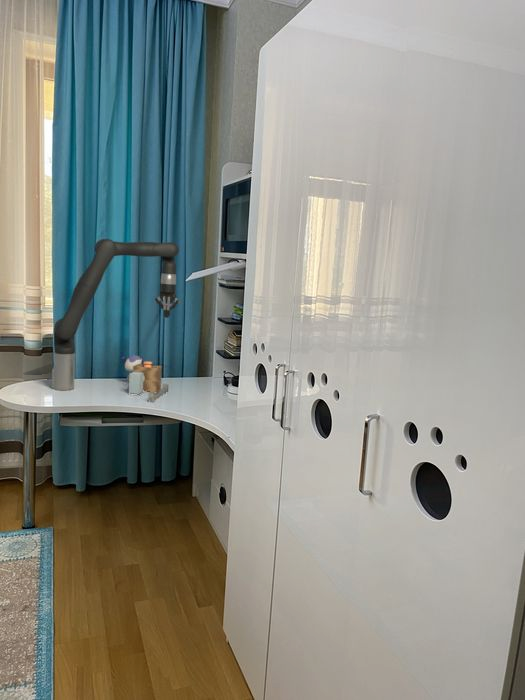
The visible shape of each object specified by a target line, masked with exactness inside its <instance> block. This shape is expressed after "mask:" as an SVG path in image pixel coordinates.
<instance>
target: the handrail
mask: <svg viewBox="0 0 525 700" xmlns="http://www.w3.org/2000/svg"><path fill="white" fill-rule="evenodd" d="M166 392H168V393H169V383H162V387H161V389H160V390H159V391H157V392H156V393H151V392H147V393H148V394H147V395H148V396H147V402H148V401H150V402H149V403H154V402H155V401H157V400H158V399H159V398H161V397H162V396H163V394H164V395H166V394H167V393H166ZM160 396H161V397H160ZM157 398H158V399H157ZM154 400H155V401H154Z"/></svg>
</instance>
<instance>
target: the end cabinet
mask: <svg viewBox="0 0 525 700" xmlns="http://www.w3.org/2000/svg"><path fill="white" fill-rule="evenodd" d="M162 366H163V365H152V364H151V368H150V367H144V364H137V365H135V366H133V372H140V373H144V375H143V390H144V391H150V392H149V393H151V392H157V391H159V390H160V389H162V368H163V367H162Z"/></svg>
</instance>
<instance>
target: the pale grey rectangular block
mask: <svg viewBox="0 0 525 700" xmlns="http://www.w3.org/2000/svg"><path fill="white" fill-rule="evenodd" d="M129 373H130V372H129ZM143 375H144V373H140V372H132V373H130V376H129V379H128V393H130V394H137V395H139V396H141V395H142V394H141V393H143V394H144V392H143ZM140 394H141V395H140ZM137 395H136V396H137Z"/></svg>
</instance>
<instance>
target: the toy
mask: <svg viewBox="0 0 525 700" xmlns="http://www.w3.org/2000/svg"><path fill="white" fill-rule="evenodd" d="M143 362H144V359H143V358H141V356H139V355H137V354H134V355H130V356H128V358H127V359H126V358H125V357H124V356H123V357H122V363H123V367H124V369H125V371H128V372H129V373H128V375H127V381H129V376H130V373H132V372H133V366H135V365H137V364H143Z"/></svg>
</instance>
